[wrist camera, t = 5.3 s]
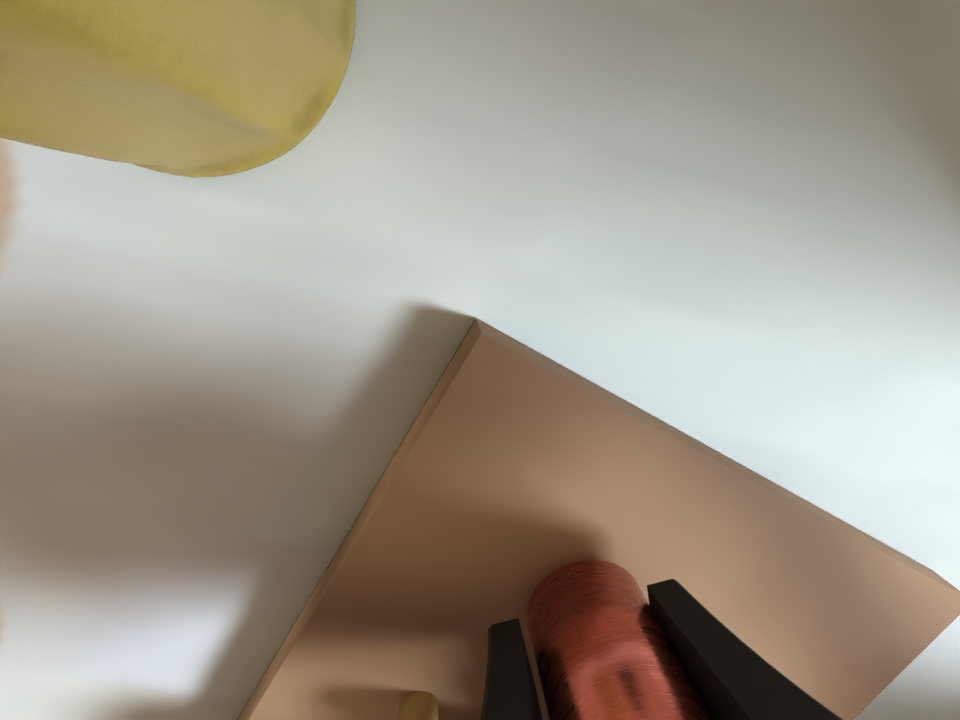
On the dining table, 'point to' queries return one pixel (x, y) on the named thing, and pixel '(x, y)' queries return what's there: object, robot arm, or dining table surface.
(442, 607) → the cracker base
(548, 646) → the lever
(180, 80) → the vase
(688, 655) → the robot arm
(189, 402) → the dining table surface
